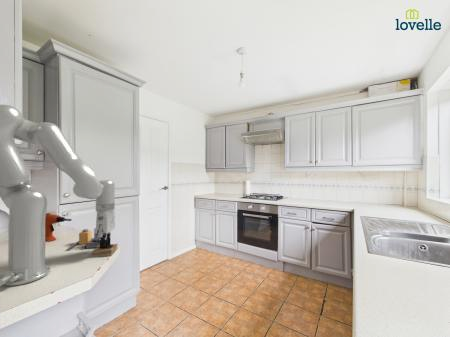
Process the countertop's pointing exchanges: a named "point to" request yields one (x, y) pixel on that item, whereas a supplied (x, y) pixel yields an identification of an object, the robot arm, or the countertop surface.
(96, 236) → the silver metal cylinder
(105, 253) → the wooden square tray
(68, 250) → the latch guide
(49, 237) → the toy drill
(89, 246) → the socket
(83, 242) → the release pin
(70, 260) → the countertop surface
